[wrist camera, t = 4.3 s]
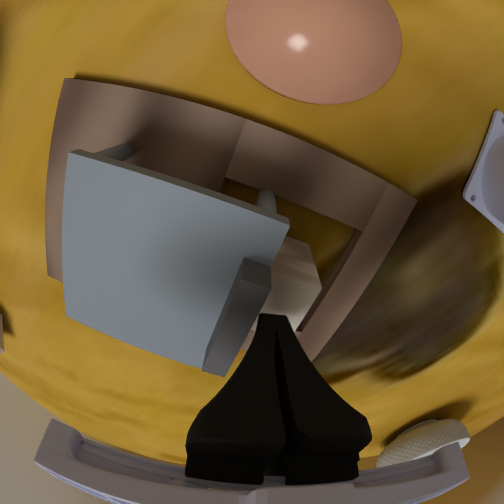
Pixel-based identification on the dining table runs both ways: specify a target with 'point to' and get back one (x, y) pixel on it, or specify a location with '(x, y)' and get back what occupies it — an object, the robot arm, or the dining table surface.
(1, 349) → the die
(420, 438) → the cereal bowl
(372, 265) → the puzzle board
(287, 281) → the block
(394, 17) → the dish
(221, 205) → the grey miniature stool
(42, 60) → the dining table surface
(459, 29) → the dining table surface
